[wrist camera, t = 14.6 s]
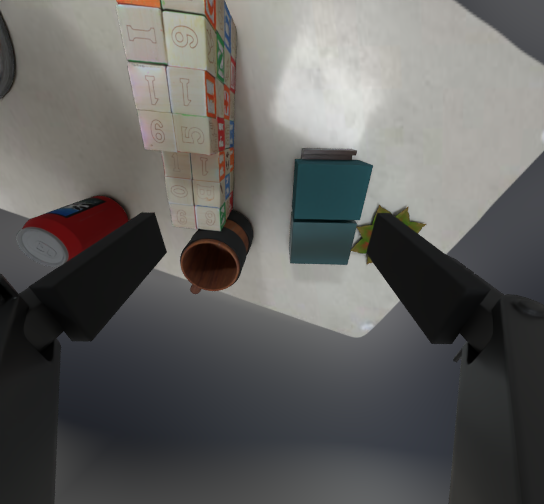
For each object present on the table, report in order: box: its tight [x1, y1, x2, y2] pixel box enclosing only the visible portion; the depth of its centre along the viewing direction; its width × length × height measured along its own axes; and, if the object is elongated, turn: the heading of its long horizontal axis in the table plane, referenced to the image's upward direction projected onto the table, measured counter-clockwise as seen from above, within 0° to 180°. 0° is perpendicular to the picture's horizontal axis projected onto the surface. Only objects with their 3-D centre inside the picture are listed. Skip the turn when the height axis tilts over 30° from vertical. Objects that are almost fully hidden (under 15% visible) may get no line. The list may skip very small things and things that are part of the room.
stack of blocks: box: [116, 0, 237, 231], centre depth 23 cm, size 21×6×12 cm, turn 174°
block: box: [292, 159, 373, 220], centre depth 29 cm, size 7×9×5 cm
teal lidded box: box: [289, 148, 357, 265], centre depth 31 cm, size 17×9×6 cm, turn 179°
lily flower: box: [351, 205, 426, 264], centre depth 34 cm, size 12×12×5 cm
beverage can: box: [16, 196, 128, 267], centre depth 30 cm, size 7×7×12 cm
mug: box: [180, 210, 253, 294], centre depth 32 cm, size 9×12×12 cm
